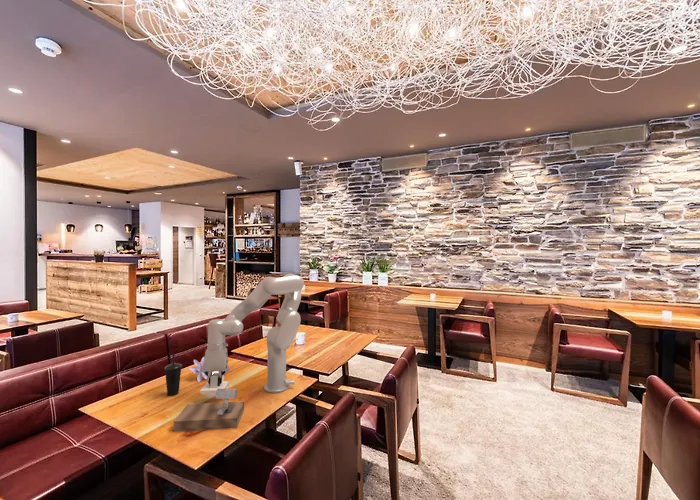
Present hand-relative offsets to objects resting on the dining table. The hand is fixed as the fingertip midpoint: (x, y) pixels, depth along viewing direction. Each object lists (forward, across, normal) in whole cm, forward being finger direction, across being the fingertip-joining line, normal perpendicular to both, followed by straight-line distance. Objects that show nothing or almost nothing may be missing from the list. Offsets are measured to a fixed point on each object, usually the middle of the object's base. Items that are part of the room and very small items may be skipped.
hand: (215, 384), depth 148 cm
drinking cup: (+8, +23, -10) cm, 26 cm away
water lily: (+8, +15, -29) cm, 33 cm away
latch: (+3, -9, +20) cm, 22 cm away
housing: (+8, -3, +17) cm, 19 cm away
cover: (+2, 0, 0) cm, 2 cm away
